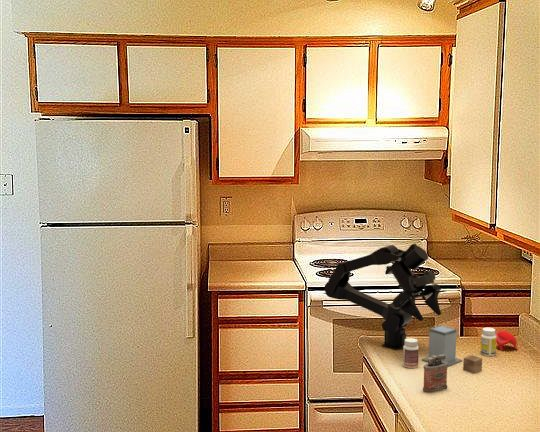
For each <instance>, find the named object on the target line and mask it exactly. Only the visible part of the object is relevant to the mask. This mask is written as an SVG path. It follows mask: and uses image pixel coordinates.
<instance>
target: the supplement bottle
mask: <svg viewBox="0 0 540 432" xmlns="http://www.w3.org/2000/svg"><path fill="white" fill-rule="evenodd" d="M481 331H482V334H481V336H480V337H481V338H480V354H481V355H483V356H485V357H494V356H496V353H497V342H496V329H495V328H493V327H483V328H482V330H481Z"/></svg>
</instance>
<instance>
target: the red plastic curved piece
mask: <svg viewBox="0 0 540 432" xmlns="http://www.w3.org/2000/svg"><path fill="white" fill-rule="evenodd" d="M495 335H496V345H497V346H498V348H499V349H500V351H501V350H502V351H504V347H503V346H506V345H508V344H511V345H513V348H515V350H516V351H517V350H518V347H517V345H518V343H517V341H518V340H517V339H516V337H515V336H514V334H512V333H510V332H508V331H506V330H499V331H497V332H495Z"/></svg>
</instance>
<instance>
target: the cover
mask: <svg viewBox="0 0 540 432" xmlns="http://www.w3.org/2000/svg"><path fill="white" fill-rule="evenodd" d="M428 331H429V334H428V335H429V336H428V338H429V339H428V356H429V358H430V357H432V355H435V356H438V355H442V354H444V355H445V356H446V359H445V360H442V361H445V362H447V363H448V362H451V361H453V360H455V358H457V356H456V355H457V354H456V353H457V332H458V331H457V329H456V328H453V327H449V326H445V325H442V324H440V325H436V326H434V327H431V328H429V330H428Z"/></svg>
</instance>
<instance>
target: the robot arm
mask: <svg viewBox="0 0 540 432" xmlns="http://www.w3.org/2000/svg"><path fill="white" fill-rule="evenodd" d="M428 259H429V256H428V253H427V251H426V250H425V249H423V247H421V246H419V245H417V244H416V243H412V244H411V245H409V246H408V248H407V249H406V250H402V249H399V248H398V247H397V246H396V245H394V244H389V245H385V246H384V247H380V248H378V249H376V250H375V251H372V252H371V253H369V254H367V255H365V256H361V257H357V258H355V259H350V260H348V261H346V260H345V261H342V262H339V263H338V264H337V265H336V266H335V269H334V271H333V272H332V273H331V275H330V277H329V279H328V281H327V282H326V283H325V285H324V293H325V295H326V296H327V297H329V298H332V299H336V300H344V301H348V302H350V303H353V304H355V305H357V306H359V307H361V308H364V309H365V310H368V311H370V312H373V313H375V314H377V315H379V316H380V317H382V318H383V319H384V321H383V322H381V327H382V330H383V331H384V337H383V338H384V341H383V342H384V343H381V346H382V347H384V348H389V349H393V350H396V351H397V350H400V349H403V346H404V345H405V339H407V333H406V327H407V326H408V324H409V323H410V322H411V321H412V319H413V318H415V319H416V320H417V321H420V322H422V321H423V320H424V317H423V315H422V314H421V312H420V310H419V308H418V307H417V304H416V299H419V298H421V299H422V300H423V302H424V303H425V305H427V307H429V308H430V309H431V310H432V311H433V312H434V313H435V314H436V315H437V316H441V315H442V312H441V309H440V304H439V299H438V297H439V294H440V293H441V292H440V291H441V290H442V288H441V287H440V285H439V284H438V283H435V280H436V275H435V274H434V272H433V271H432V270H428V271H426V272H424V275H421V276H419V275H418V274H417V273H416V274H414V272H412V270H417V269H418V268H419V267H420V266H422V265H423V264H424V263H425V262H426V261H427V260H428ZM388 264H391V265H388ZM381 265H382V266H383V265H387V266H385V267H386V269H385V272H384V274H385V275H392V276H393V277H394V279H395V281H396V282H397V284H398V285H397V288H398V289H402V290H403V291H402V292H400V293H399V294H397V296H395V297H394V298H393V299H392V302H391V303H387V302H385V301H382V300H380V299H378V298H376V297H374V296H371V295H369V294H366V293H364V292H362V291H359V290H358V289H355V288H354V287H353V286H352V285H351V283H349V282H350V275H351V272H353V271H356V270H359V269H363V268H366V267H370V266H381Z"/></svg>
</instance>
